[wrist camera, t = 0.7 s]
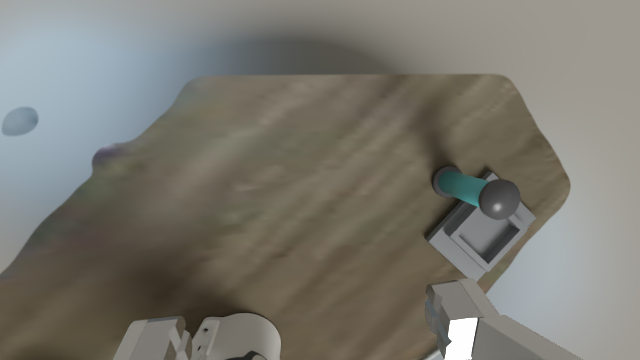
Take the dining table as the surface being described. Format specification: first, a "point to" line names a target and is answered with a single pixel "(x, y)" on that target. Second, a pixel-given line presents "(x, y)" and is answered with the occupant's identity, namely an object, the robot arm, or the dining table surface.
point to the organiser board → (478, 236)
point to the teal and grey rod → (478, 192)
